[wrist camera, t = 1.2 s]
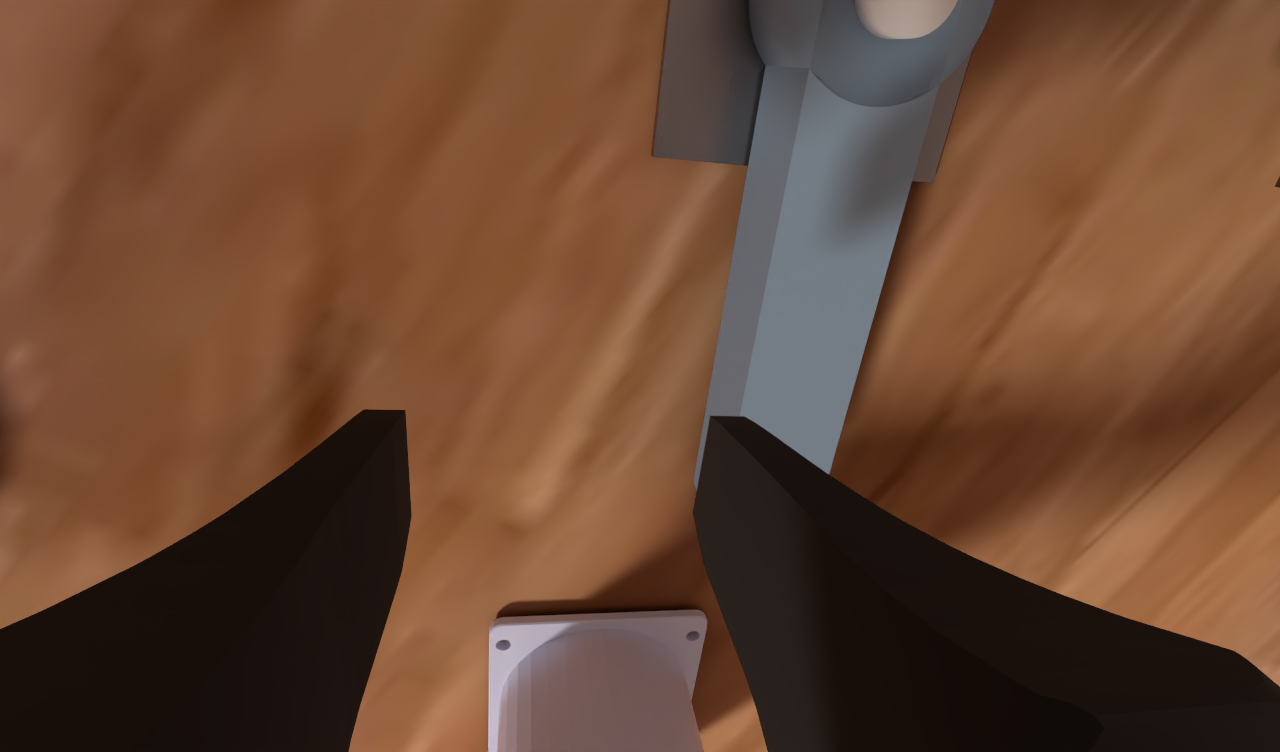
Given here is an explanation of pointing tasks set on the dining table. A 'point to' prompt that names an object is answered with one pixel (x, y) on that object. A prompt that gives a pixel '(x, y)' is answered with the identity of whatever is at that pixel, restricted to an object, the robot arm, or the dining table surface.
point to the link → (826, 202)
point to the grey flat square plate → (739, 89)
